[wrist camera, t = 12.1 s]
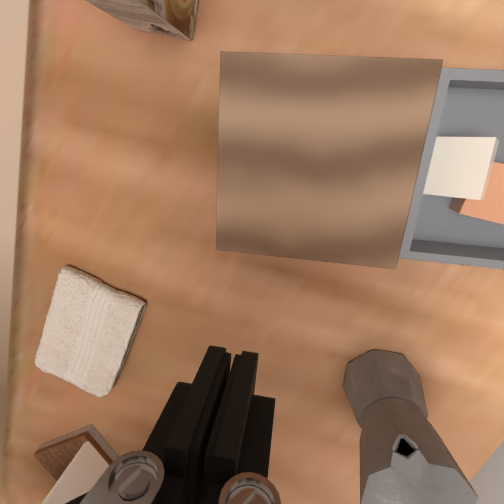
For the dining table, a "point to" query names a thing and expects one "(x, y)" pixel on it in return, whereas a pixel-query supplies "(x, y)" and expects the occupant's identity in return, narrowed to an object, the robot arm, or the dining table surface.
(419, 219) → the box
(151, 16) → the coffee box
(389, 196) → the block
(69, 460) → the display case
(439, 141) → the tile
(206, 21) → the dining table surface
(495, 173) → the tile
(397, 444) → the coffeepot
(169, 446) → the robot arm
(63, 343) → the washcloth
